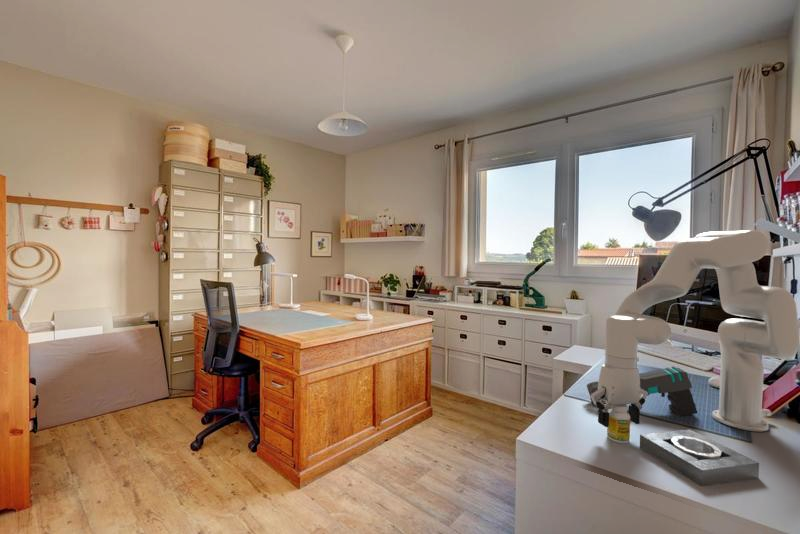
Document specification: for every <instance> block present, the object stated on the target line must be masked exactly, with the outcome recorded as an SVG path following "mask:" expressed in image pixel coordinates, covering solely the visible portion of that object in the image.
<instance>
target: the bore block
mask: <svg viewBox="0 0 800 534" xmlns="http://www.w3.org/2000/svg"><path fill="white" fill-rule="evenodd" d="M639 448H640V449H641V450H643V452H644V451H645V452H646V453H648V454H649V455H651V456H653V457H654V458H655V459H657V460H659V461H660V462H662V463H664V464H665V465H667V466H668V467H670V468H672V469H674V470H675V471H677V472H678V473H679V474H681V475H683V476H685V477H687V478H688V479H690V480H691V481H692V482H694V483H696V484H697V485H699V486H701V487H703V486H711V485H718V484H725V483H733V482H738V481H745V480H752V479H759V476H760V475H759V473H760V462H759V461H756V460H755V459H752V458H750V457H748V456H746V455H745V454H742V453H740V452H738V451H736V450H734V449H732V448H729V447H728V446H725V445H723V444H721V443H719V442H716V440H713V439H711V438H709V437H707V436H705V435H703V434H701V433H699V432H696V431H694V430H692V429H691V428H690V429H680V430H673V431H672V430H671V431H670V430H669V431H663V432H661V431H660V432H654V433H653V432H651V433H642V434H640V435H639Z"/></svg>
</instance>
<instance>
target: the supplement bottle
mask: <svg viewBox="0 0 800 534" xmlns="http://www.w3.org/2000/svg"><path fill="white" fill-rule="evenodd" d="M628 407H629V405H628V404H624V405H611V407H610V408H609V409H608V411H607V412H608V413H609V426H608V427H606V428H607V429H606V435H607V438H608V439H610V440H611V441H612V442H615V443H618V444H628V443H629V442H630V438H631V437H630V436H631V435H630V434H631V433H630V432H631V421H630V415H629V414H628Z"/></svg>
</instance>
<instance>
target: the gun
mask: <svg viewBox="0 0 800 534" xmlns="http://www.w3.org/2000/svg"><path fill="white" fill-rule="evenodd" d="M639 376H640V388H641V389H643V390H645V391H647V392H648V395H647V397H648V396H650V395H652V394H657V393H658V394H661V395H660V396H661V397H662V398H665V396H666V397H667V400H668V401H669V402H670V404H669V405H668V408H669V409H670V410H671V411H672V412H673V413H675V414H676V415H678V416H679V417H685V416H689V415H695V414H698V410H697V407H696V403H695V401H694V399H693V394H692V393H691V392H692V391H691V389H692V387H693V386H692V383H691V380H690V379H689V376H688V372H686V371H685V370H683V369H681V368H680V367H676V366H671V368H670V367H665V368H664V369H663V368H660V369H656V370H651V371H646V372H642V373H640V372H639ZM598 382H599V380H598V381H592V382H589V383H587V384H586V388H587V392H588V394H589V397H590V402H591V403H592V404H593V401H592V399H591V394H592V393H594V392H595V391H597V390H598ZM666 393H667V395H666ZM600 400H601V399H599V401H600ZM605 404H606V403H604V404H603V406H605Z"/></svg>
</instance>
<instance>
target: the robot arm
mask: <svg viewBox="0 0 800 534" xmlns="http://www.w3.org/2000/svg"><path fill="white" fill-rule="evenodd" d="M769 247H770V241H769V238H768V237H767V236H766V234H765V233H763V232H762V231H760V230H756V229H742V230H741V229H738V230H721V231H720V230H716V231H707V232H702V233H699V234H696V235H695V236H694V237H692V238H691V237H690V238H683V239H680V240H678V241H677V242H675V243H674V245H673V246H672V248H671V250H670V251H669V253H668V254H667V256H666V257H665V259H664V260H663V263H662V264H661V266H660V268H659V269H658V270H657V272H656V274H655V276H654V277H653V278H652V279H651V280H650V281H648V282H646V283H645V284H643V285H641V286H640V287H639V288H637V289H635V290H634V291H632V292H631V293H630V294H629V295H627V297H625V298H624V300H623V301H622V303H621V304H620V306H618V307H619V308H618V309H617V310H616V313H615V314H614V315H610V316H608V317H606V318H607V319H606V321H605V345H604V347H605V349H604V350H605V351H604V352H605V353H604V364H602V365H601V366H600V367H601V368H600V372H599V375H598V381H599V382H598V381H597V382H598V390H597V391H595V392H594V393H592V394H591V399H592V401H593V403H592V404H593V405H594V406H595V408H596V409H597V410H598V411H597V422H598V423H599V424H600V425H601V426H603V427H604V428H607V427H608V426H609V413H608V411H609V410H610V409H611V405H624V404H626V405H628V411H627V413H628V414H629V415H630V422H632V423H633V424H635V425H640V419H641V418H640V415H641V410H642V409H643V405H644V404H645V403H646V399H647V397H648V396H647V395H648V392H647V391H645V390H643V389H641V388H640V376H639V374H640V371H639V367H638V362H639V357H638V352H639V351H638V350H639V349H638V348H639V344H645V345H653V346H656V345H661V344H664V343H665V342H667V341H668V340H669V338H670V337H671V334H672V329H671V326H670V325H669V323H668V322H667V321H666V320H664V319H663V318H660V317H656V316H652V315H648V314H643V313H644V312H645V311H646V310H647V309H648V308H650V307H652V306H653V305H657V304H659V303H662V302H665V301H666V302H667V301H670V300H675V299H677V298H680V297H684V296H686V295H687V294H688V292H689V290H690V289H691V287H692V286H693V284H694V282H695V280H696V279H697V277H698V275H699V273H700V272H701V270H703V269H709V270H711V269H714V270H715V272H716V276H717V277H716V278H717V283H718V290H719V299H720V300H719V301H720V304H721V305H720V306H721V308H722V310H723V311H724V312H725V313H727V314H729V315H732V316H737V317H738V316H739V317H743V318H737V317H735V318H733V317H732V318H727V319H725V320H724V321H723V320H722V321H721V322H720V324H718V325H719V326H718V329H717V337H718V342H719V348H720V370H719V371H720V372H719V373H720V376H719V395H718V396H719V397H718V398H719V400H718V409H715V410H713V411H711V416H712V418H713V419H714V420H716V421H717V422H719V423H722V424H724V425H727V426H730V427H731V428H734V429H735V428H736V429H738V430H739V429H740V430H743V431H749V432H750V431H751V432H759V433H760V432H766V431H768V430H769V423H768V422H766V421H765V420H764V419H763V418H764V417H770V416H772V411H771V410H770V409H768V408H763V396H764V395H763V394H764V393H763V392H764V391H763V390H764V389H763V388H764V375H765V374H764V373H765V370H764V364H763V363H762V361H761V359H760V357H759V356H758V355H760V356H764V357H769V358H774V359H779V360H789V359H792V358H793V357H795V355H797V354H798V352H799V347H800V332H799V322H798V321H799V320H798V319H799V318H798V312H797V305H796V301H795V297H794V296H793V295H792V294H791V293H790V291H788V290H787V289H785V288H782V287H779V286H771V285H769V286H768V285H760V284H759V282H758V279H757V273H756V272H757V271H756V268H755V265H754V264H753V262H757V261H759V260H761V259H762V258H763V257H765V256H766V254H767V253H768V250H769ZM745 317H746V318H745ZM747 318H752V319H747ZM755 319H757V320H755ZM759 320H763V321H759ZM591 399H590V400H591ZM599 399H601V400H600V401H599ZM604 403H606V404H604ZM603 404H604V405H603Z"/></svg>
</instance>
